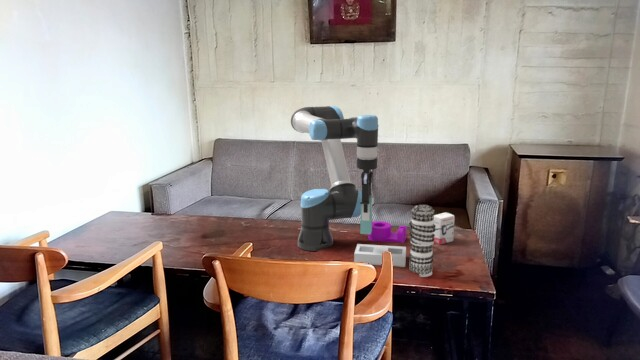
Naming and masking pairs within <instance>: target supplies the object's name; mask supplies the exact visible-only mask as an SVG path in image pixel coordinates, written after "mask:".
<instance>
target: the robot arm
mask: <svg viewBox="0 0 640 360" xmlns="http://www.w3.org/2000/svg"><path fill="white" fill-rule="evenodd" d="M290 125H291V128H292V129H293V130H294V131H296V132H298V133H300V134H304V133H307V134H309V137H310V139H311V140H313V141H320V142H321V145H322V150H323V153H324V159H325V162H326V169H327V172H328V177H329V180H330V185H331V186H330V188H329V190H328V189H327V188H314V189H311V190H310V189H309V190H307V191H305V192H304V193H303V194H302V195H301V197H300V218H301V219H300V220H301V222H300V223H301V224H300V225H301V227H300V232H299V234H298V236H297V237H298V238H297V247H299V248H300V249H301V250H304V251H309V252H310V251H311V252H319V250H322V249H327V248H330V247H331V246H333V244H334V237H333V234H332V232H331V229H330V221H334V220H342V219H352V218H357V217H359V216H361V204H362V220H364V221H369V214H370V203H369V195H371V196H372V184H373V183H372V182H373V171H372V170H376V169H377V168H378V158H377V157H378V153H379V152H380V149H379V148H378V146H379V145H378V143H379V142H378V141H379V139H378V137H379V118H378V116H377V115H376V114H375V115H374V114H361V115H358V116H356V117H354V116H352V117H349V118H344V113H343V111H342V110H341V109H340V108H339V107H338V106H335V105H334V106H333V105H326V106H324V105H323V106H307V107H300V108H299V109H297V110H295V111H294V112H293V114H292V115H291V118H290ZM345 139H346V140H347V139H356V142H357V143H356V157H357V158H356V168H357V169H359V170H362V172H361V174H360V177H361V189H359V188H358V189H357V188H356V184H355V183H353V182H352V181H351V178H350V172H349V169H348V166H347V165H348V164H347V161H346V157H345V154H344V153H345V152H344V149H343V148H344V147H343V143H342V140H345ZM361 196H362V202H361ZM372 198H374V197H373V196H372Z"/></svg>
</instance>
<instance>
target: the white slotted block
mask: <svg viewBox="0 0 640 360" xmlns="http://www.w3.org/2000/svg"><path fill="white" fill-rule="evenodd" d="M385 251H389V252H391V254H392V259H393V266H392V267H399V268H400V267H401V268H405V267H406V261H407V260H406V259H407V258H406V257H407V246H400V245H398V246H397V245H382V244H381V245H379V244H378V245H377V244H364V243H363V244H362V243H357V244H356V247H355V250H354V254H353V255H354V256H353V258H354V259H353V262H363V263H369V264H368V265H370V264H372V266H382V265H381V264H382V253H383V252H385Z"/></svg>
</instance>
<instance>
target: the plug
mask: <svg viewBox="0 0 640 360" xmlns="http://www.w3.org/2000/svg"><path fill="white" fill-rule="evenodd" d="M372 197H373V195H372V194H371V195H369V203H370V214H369V221H364V220H362V204H361V214H360V225H359V226H360V230H359V231H360V232H359V233H360V234H361V235H368V234H371V232H372V222H373V205H374V202H375V198H374V197H373V198H372ZM361 202H362V196H361ZM360 234H359V235H360Z"/></svg>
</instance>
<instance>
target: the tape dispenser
mask: <svg viewBox="0 0 640 360" xmlns="http://www.w3.org/2000/svg"><path fill="white" fill-rule="evenodd" d="M407 229H408V228H407V225H400V226H399V227H398V229H397V232H393V231H392V224H391V223H390V222H387V221H381V220H380V221H379V220H378V221H372V232H371V234H367V239H368V240H369V241H371V242H384V243H386V242H387V243H404V242H405V241H406V239H407V234H408V233H407V231H408V230H407Z"/></svg>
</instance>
